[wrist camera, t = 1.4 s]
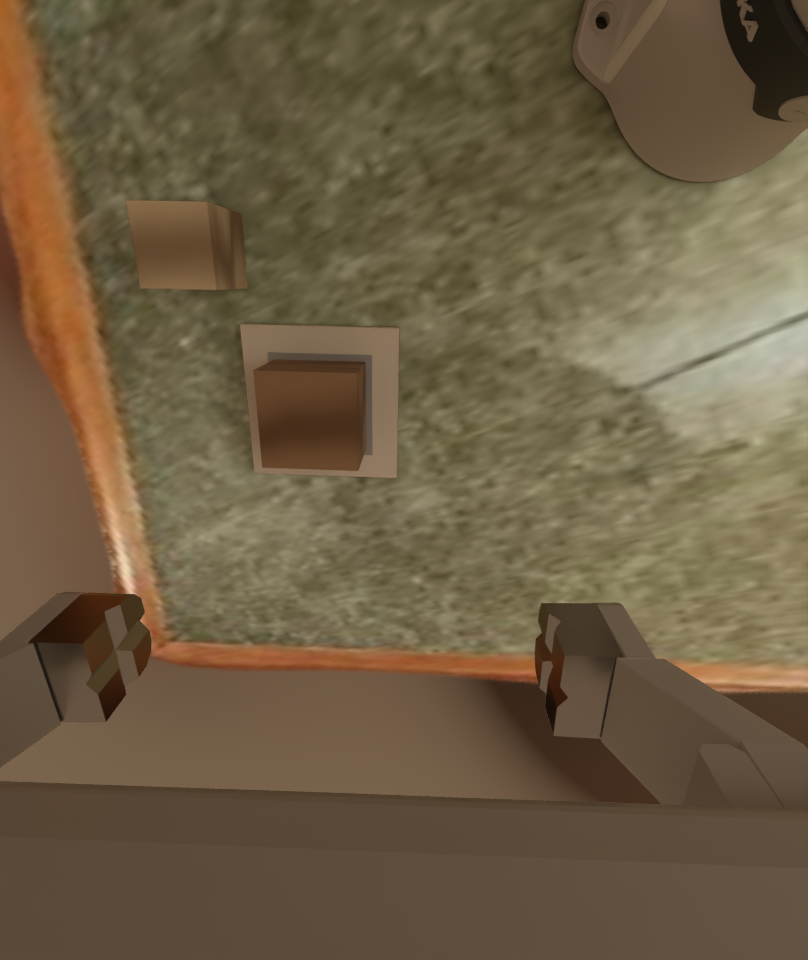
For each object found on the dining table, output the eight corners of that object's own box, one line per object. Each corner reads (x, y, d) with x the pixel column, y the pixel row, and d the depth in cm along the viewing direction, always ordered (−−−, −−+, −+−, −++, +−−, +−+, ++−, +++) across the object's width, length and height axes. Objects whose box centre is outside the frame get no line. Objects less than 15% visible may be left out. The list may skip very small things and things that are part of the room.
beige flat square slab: (244, 323, 38) (239, 324, 37) (399, 327, 38) (398, 328, 37) (258, 468, 43) (253, 473, 42) (397, 473, 42) (396, 478, 41)
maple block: (172, 212, 36) (125, 200, 30) (241, 213, 36) (206, 201, 30) (182, 287, 38) (140, 288, 32) (248, 288, 38) (216, 290, 32)
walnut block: (274, 359, 38) (253, 370, 34) (365, 361, 38) (356, 373, 33) (281, 446, 41) (262, 467, 36) (366, 449, 41) (358, 470, 36)
